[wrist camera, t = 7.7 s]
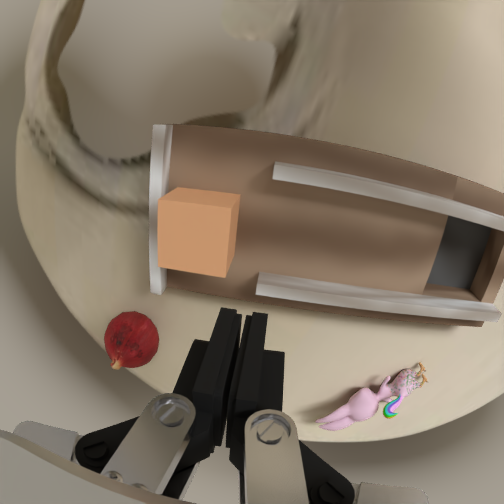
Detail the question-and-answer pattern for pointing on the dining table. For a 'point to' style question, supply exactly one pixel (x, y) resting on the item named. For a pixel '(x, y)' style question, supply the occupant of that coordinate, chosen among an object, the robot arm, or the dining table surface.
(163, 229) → the block
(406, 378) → the pink plastic figure
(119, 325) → the onion
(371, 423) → the dining table surface
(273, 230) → the trap tube
